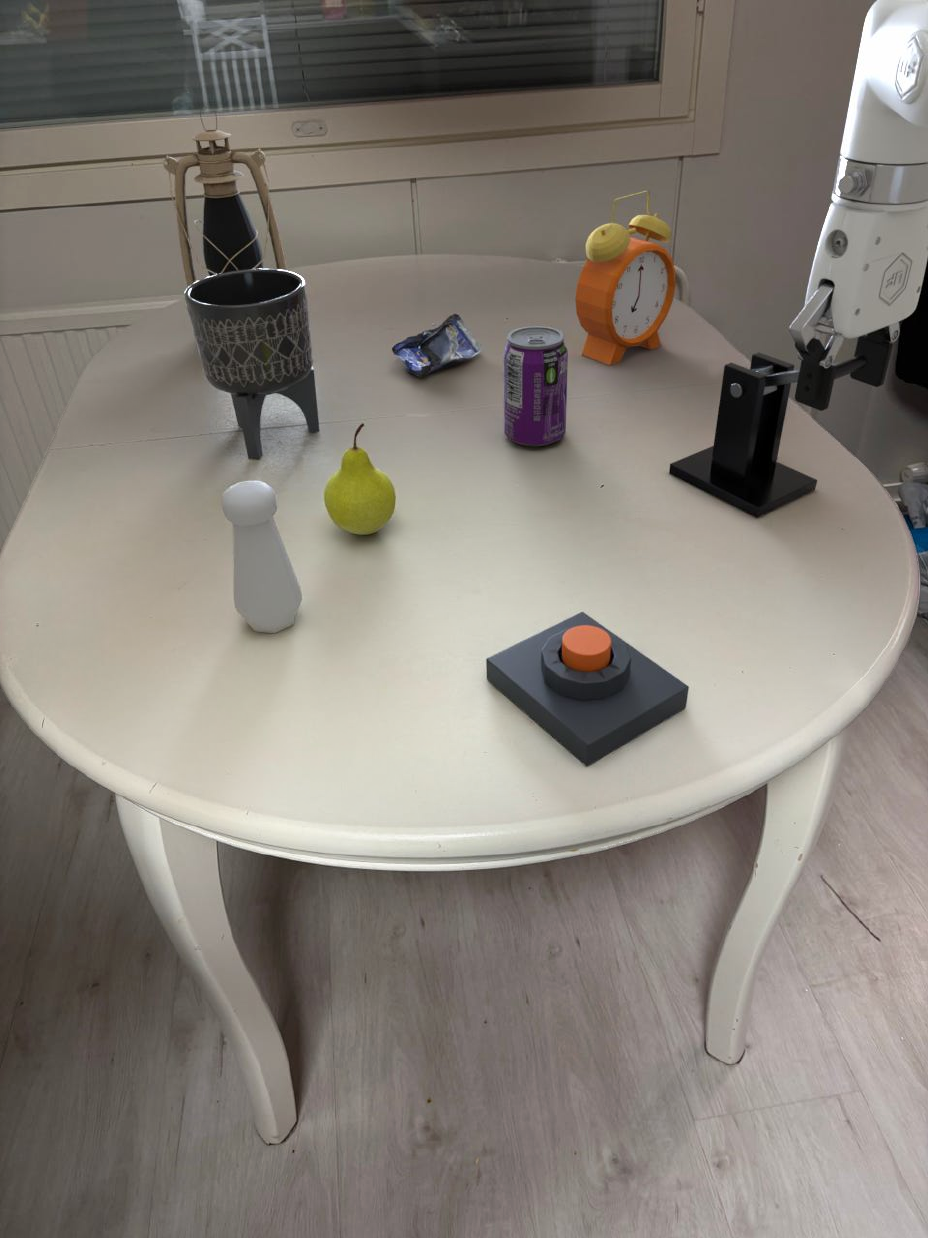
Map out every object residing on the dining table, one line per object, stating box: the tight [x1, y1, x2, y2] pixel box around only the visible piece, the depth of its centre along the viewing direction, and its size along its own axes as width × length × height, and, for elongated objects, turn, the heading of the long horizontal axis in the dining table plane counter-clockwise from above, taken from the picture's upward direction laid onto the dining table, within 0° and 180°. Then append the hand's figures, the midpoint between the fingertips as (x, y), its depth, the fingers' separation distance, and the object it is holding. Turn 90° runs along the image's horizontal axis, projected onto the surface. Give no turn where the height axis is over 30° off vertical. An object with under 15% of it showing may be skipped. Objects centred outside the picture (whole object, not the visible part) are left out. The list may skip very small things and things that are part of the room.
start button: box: [562, 625, 611, 673], centre depth 69 cm, size 4×4×2 cm
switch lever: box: [751, 355, 867, 395], centre depth 87 cm, size 12×5×2 cm, turn 36°
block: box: [485, 611, 690, 767], centre depth 71 cm, size 12×10×4 cm
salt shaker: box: [221, 480, 303, 634], centre depth 77 cm, size 6×6×13 cm
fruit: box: [323, 422, 397, 536], centre depth 89 cm, size 7×7×12 cm
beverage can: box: [502, 325, 569, 448], centre depth 104 cm, size 7×7×12 cm
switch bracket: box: [668, 352, 818, 519], centre depth 93 cm, size 12×9×13 cm
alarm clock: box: [574, 190, 677, 366], centre depth 122 cm, size 13×6×20 cm, turn 129°
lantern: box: [162, 106, 288, 288], centre depth 130 cm, size 14×12×30 cm
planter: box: [183, 268, 320, 461], centre depth 105 cm, size 13×13×18 cm
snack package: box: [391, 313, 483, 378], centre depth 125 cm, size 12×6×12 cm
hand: (839, 391), depth 83 cm, fingers open, 7 cm apart
